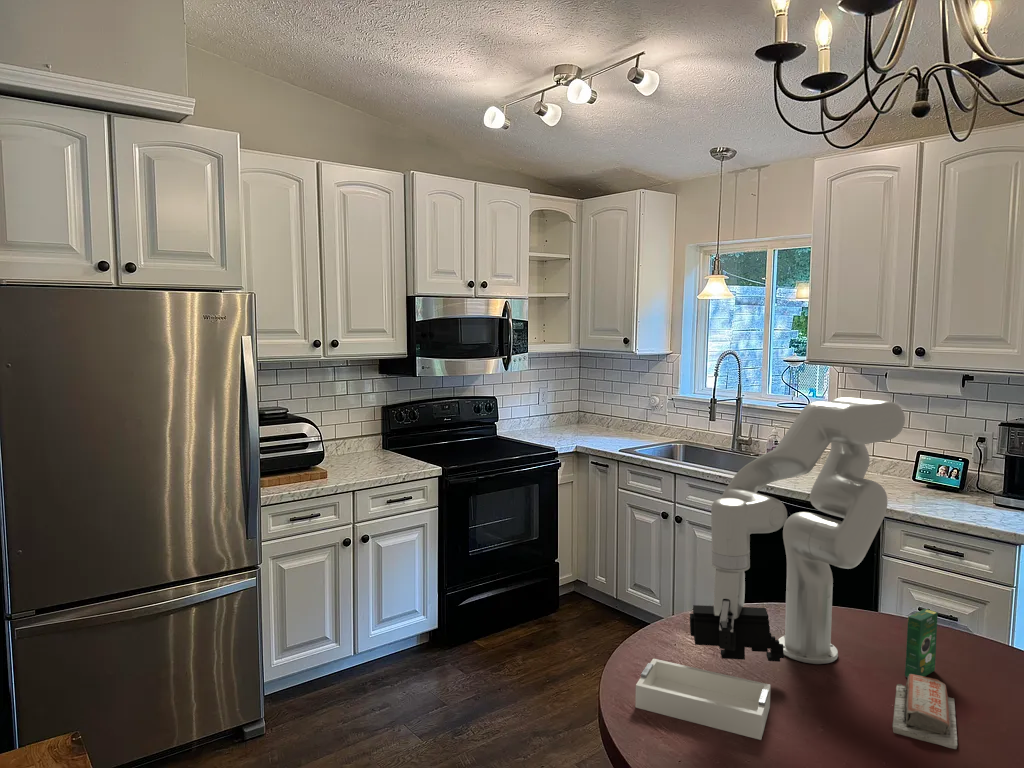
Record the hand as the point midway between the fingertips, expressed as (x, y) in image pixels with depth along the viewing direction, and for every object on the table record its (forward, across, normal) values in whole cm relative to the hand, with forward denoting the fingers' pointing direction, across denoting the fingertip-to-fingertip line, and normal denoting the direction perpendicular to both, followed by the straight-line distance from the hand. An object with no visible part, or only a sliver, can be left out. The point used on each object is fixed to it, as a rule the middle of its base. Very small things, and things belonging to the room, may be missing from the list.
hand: (731, 639), depth 143 cm
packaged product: (+10, -1, +35) cm, 36 cm away
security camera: (+4, 0, +1) cm, 4 cm away
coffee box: (+10, -19, +35) cm, 41 cm away
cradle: (+7, +15, -3) cm, 17 cm away
